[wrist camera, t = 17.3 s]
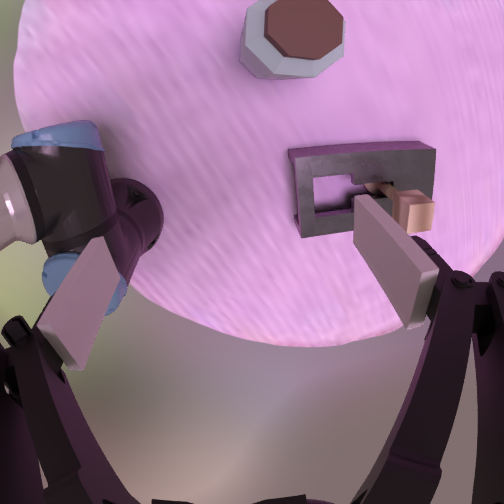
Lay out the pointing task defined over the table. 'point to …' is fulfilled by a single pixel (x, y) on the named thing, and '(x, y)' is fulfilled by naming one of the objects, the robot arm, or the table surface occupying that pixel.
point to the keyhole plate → (358, 177)
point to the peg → (407, 206)
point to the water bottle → (291, 38)
